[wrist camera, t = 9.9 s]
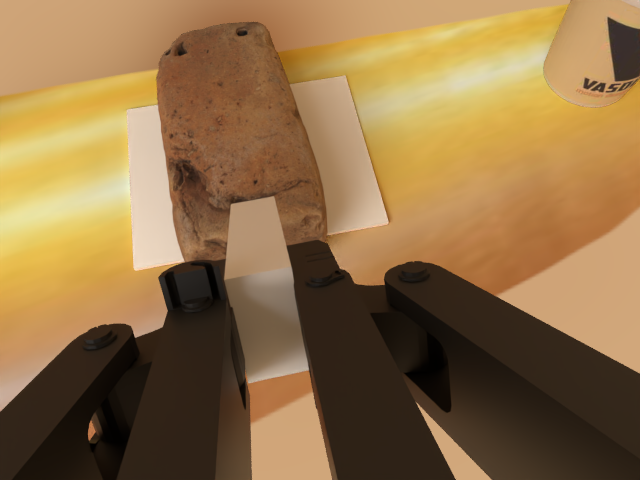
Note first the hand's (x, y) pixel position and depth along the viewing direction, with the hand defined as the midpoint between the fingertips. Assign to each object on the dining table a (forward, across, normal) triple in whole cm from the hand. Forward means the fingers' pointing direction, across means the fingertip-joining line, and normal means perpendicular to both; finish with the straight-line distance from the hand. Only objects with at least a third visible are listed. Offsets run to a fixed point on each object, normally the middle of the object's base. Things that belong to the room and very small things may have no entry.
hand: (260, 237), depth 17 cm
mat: (+26, 0, -2) cm, 26 cm away
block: (+15, -1, -7) cm, 17 cm away
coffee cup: (+28, +32, 0) cm, 42 cm away
